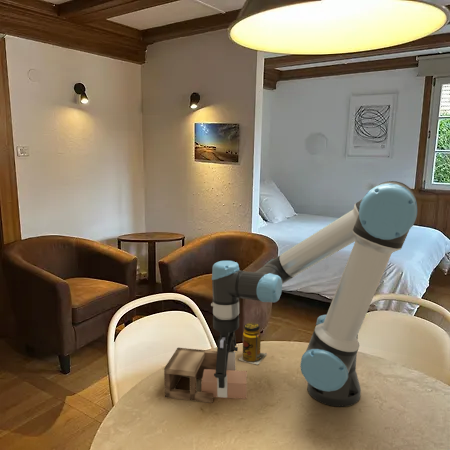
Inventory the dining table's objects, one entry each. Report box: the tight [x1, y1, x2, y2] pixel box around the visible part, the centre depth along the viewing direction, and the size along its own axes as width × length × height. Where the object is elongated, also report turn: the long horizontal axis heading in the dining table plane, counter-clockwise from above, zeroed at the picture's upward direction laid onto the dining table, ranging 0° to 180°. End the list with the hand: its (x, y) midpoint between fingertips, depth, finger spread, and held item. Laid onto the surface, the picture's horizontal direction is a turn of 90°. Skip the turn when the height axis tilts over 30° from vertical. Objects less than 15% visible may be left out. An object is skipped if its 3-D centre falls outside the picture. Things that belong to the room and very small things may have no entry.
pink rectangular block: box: [200, 369, 248, 400], centre depth 123 cm, size 13×7×5 cm, turn 86°
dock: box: [163, 347, 217, 404], centre depth 125 cm, size 14×13×9 cm
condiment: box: [238, 322, 268, 365], centre depth 143 cm, size 7×8×12 cm
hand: (226, 383), depth 123 cm, fingers open, 13 cm apart
